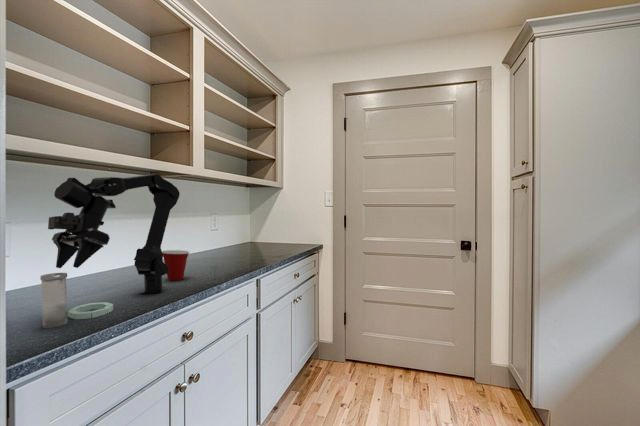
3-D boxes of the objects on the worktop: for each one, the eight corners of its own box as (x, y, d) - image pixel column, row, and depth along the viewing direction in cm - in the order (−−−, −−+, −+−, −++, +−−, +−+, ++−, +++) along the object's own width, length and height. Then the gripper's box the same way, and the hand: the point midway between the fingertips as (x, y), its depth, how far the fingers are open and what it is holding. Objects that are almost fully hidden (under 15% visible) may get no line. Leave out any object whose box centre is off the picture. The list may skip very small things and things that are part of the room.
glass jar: (49, 321, 87) (48, 273, 87) (72, 319, 88) (71, 272, 88) (36, 329, 82) (35, 277, 81) (61, 327, 83) (60, 276, 82)
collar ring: (80, 308, 98) (80, 303, 98) (117, 306, 100) (117, 301, 100) (61, 320, 88) (61, 314, 88) (103, 317, 90) (103, 312, 90)
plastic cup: (193, 279, 134) (193, 250, 134) (165, 283, 127) (164, 253, 127) (185, 275, 143) (185, 248, 142) (158, 278, 136) (158, 250, 136)
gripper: (45, 206, 93) (16, 258, 86) (79, 198, 84) (50, 256, 77) (85, 222, 101) (61, 271, 95) (120, 217, 92) (96, 270, 86)
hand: (66, 267), depth 88 cm, fingers open, 9 cm apart
